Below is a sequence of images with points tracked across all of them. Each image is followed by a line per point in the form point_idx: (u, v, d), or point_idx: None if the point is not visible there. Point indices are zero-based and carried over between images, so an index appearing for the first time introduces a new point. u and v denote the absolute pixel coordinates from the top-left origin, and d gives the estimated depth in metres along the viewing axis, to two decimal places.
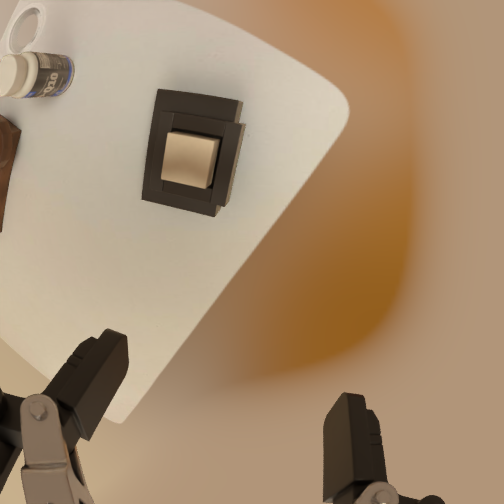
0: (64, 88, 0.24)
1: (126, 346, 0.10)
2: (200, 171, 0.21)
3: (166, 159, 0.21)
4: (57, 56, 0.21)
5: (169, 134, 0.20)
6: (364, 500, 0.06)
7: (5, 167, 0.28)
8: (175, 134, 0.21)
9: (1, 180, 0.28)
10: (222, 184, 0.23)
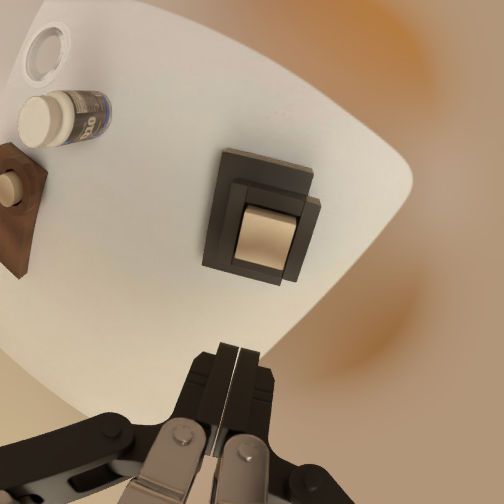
0: (101, 132, 0.24)
1: None
2: (279, 253, 0.22)
3: (242, 239, 0.22)
4: (92, 95, 0.21)
5: (246, 214, 0.21)
6: (229, 461, 0.06)
7: (31, 211, 0.28)
8: (253, 214, 0.21)
9: (27, 224, 0.28)
10: (296, 262, 0.23)
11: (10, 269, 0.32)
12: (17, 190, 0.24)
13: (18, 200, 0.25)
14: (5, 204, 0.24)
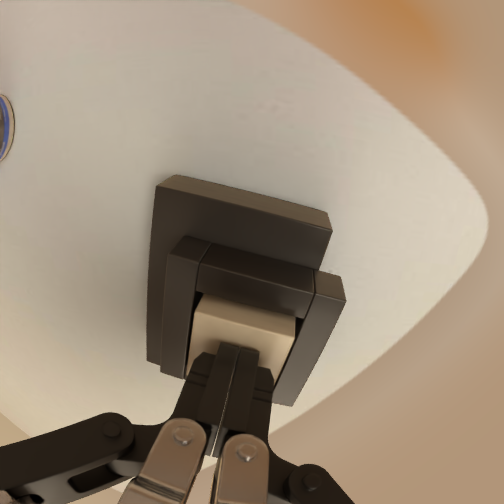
0: (2, 154, 0.13)
1: None
2: None
3: (195, 353, 0.11)
4: None
5: (198, 315, 0.10)
6: (229, 461, 0.06)
7: None
8: (211, 316, 0.10)
9: None
10: (293, 383, 0.13)
11: None
12: None
13: None
14: None
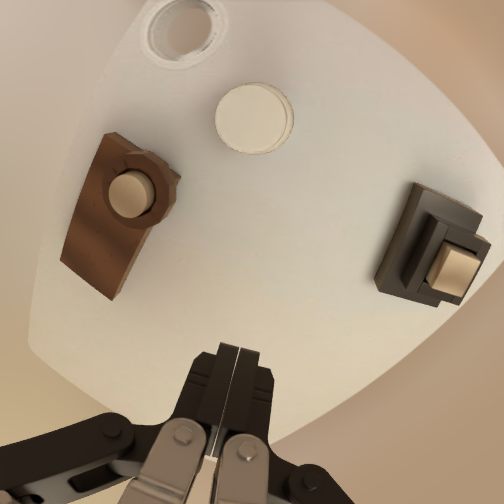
0: None
1: None
2: (463, 284, 0.21)
3: (442, 272, 0.21)
4: None
5: (452, 251, 0.20)
6: (229, 461, 0.06)
7: None
8: (455, 251, 0.20)
9: (142, 238, 0.28)
10: None
11: (100, 289, 0.31)
12: (149, 197, 0.23)
13: None
14: (125, 214, 0.23)
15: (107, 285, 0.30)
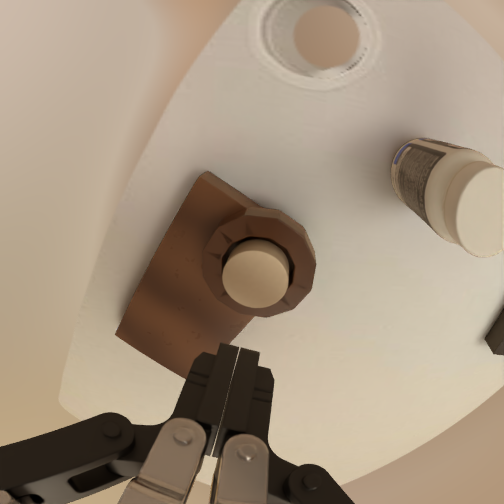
0: None
1: None
2: None
3: None
4: None
5: None
6: (229, 461, 0.06)
7: None
8: None
9: (250, 319, 0.21)
10: None
11: (176, 370, 0.25)
12: None
13: None
14: (249, 303, 0.17)
15: (188, 367, 0.24)
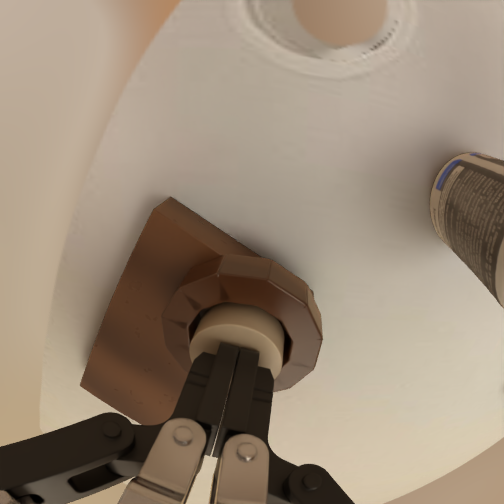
0: None
1: None
2: None
3: None
4: None
5: None
6: (229, 461, 0.06)
7: None
8: None
9: None
10: None
11: None
12: None
13: None
14: None
15: None
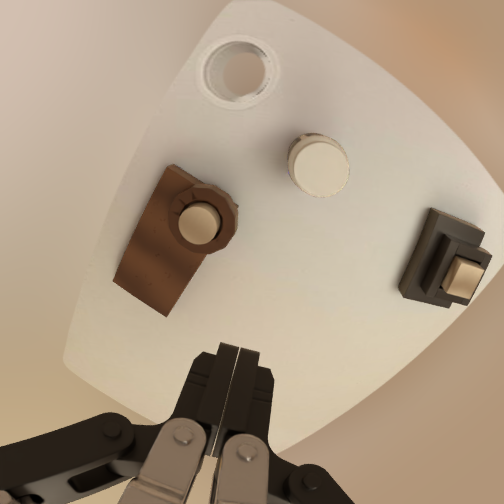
0: None
1: None
2: (471, 288, 0.26)
3: (455, 280, 0.26)
4: None
5: (462, 263, 0.25)
6: (229, 461, 0.06)
7: None
8: (465, 263, 0.25)
9: None
10: None
11: (155, 306, 0.35)
12: (217, 227, 0.28)
13: None
14: (195, 241, 0.28)
15: (163, 303, 0.35)
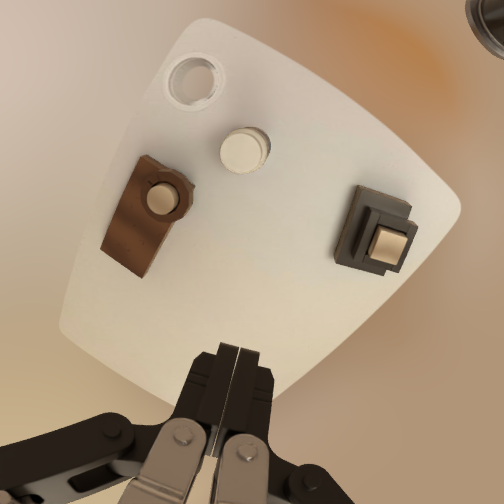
0: None
1: None
2: (396, 255, 0.33)
3: (377, 246, 0.33)
4: (263, 133, 0.33)
5: (382, 231, 0.32)
6: (229, 460, 0.06)
7: None
8: (385, 231, 0.32)
9: (168, 230, 0.40)
10: (400, 260, 0.35)
11: (133, 269, 0.43)
12: (175, 201, 0.35)
13: (172, 209, 0.36)
14: (159, 212, 0.36)
15: (139, 266, 0.43)
